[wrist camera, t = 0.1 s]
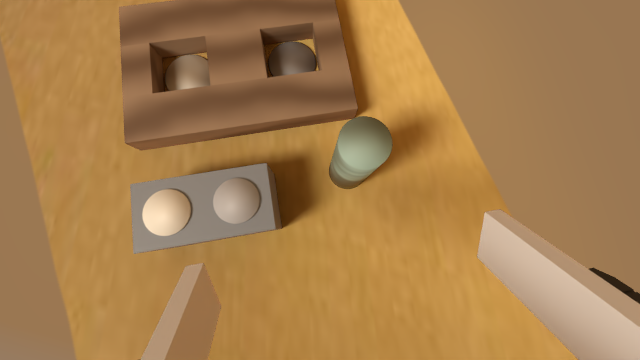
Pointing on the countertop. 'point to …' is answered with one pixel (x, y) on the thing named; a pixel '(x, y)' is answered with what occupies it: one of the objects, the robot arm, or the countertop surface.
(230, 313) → the countertop surface
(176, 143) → the board
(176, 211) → the block
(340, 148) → the pin
